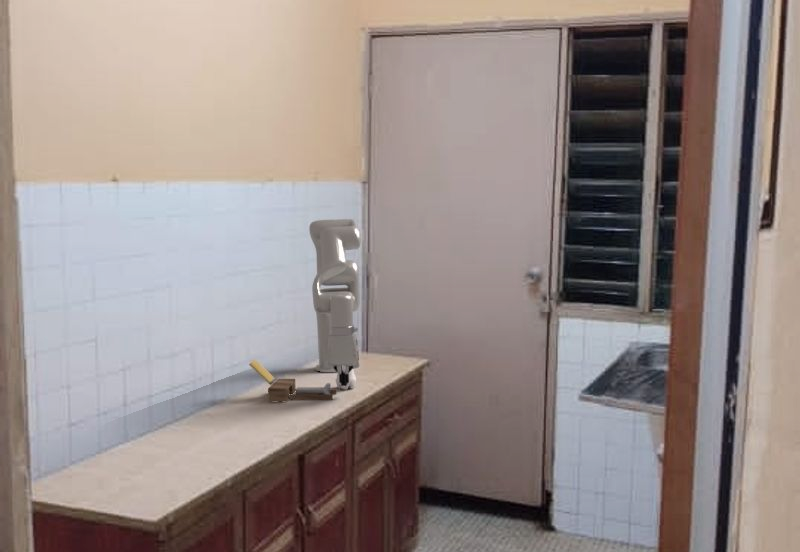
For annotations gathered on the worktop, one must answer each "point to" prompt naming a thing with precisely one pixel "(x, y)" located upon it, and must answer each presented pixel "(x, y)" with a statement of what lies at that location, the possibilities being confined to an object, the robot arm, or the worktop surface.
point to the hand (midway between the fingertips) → (344, 384)
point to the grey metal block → (314, 390)
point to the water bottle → (351, 380)
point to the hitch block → (291, 392)
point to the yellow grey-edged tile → (263, 372)
